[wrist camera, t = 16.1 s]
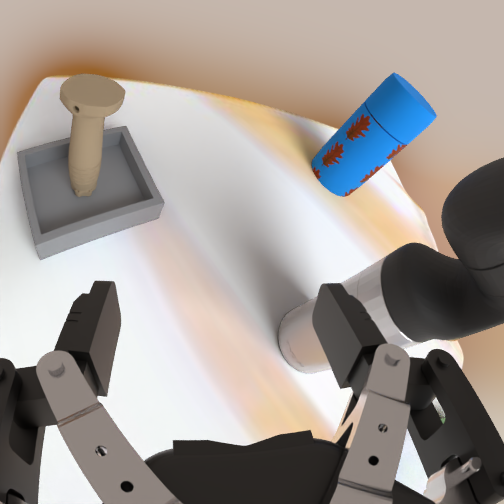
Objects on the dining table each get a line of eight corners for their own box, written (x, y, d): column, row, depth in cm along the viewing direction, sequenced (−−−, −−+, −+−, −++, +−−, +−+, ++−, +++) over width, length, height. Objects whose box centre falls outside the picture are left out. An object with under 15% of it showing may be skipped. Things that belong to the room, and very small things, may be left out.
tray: (122, 143, 40) (126, 125, 37) (158, 218, 37) (164, 202, 35) (20, 170, 30) (17, 152, 28) (40, 260, 28) (35, 245, 25)
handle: (74, 166, 33) (81, 69, 22) (113, 185, 35) (134, 88, 24) (53, 192, 31) (50, 92, 19) (95, 213, 32) (106, 113, 21)
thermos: (302, 153, 59) (382, 64, 39) (336, 157, 65) (410, 82, 45) (327, 198, 55) (422, 109, 36) (359, 197, 61) (444, 123, 42)
